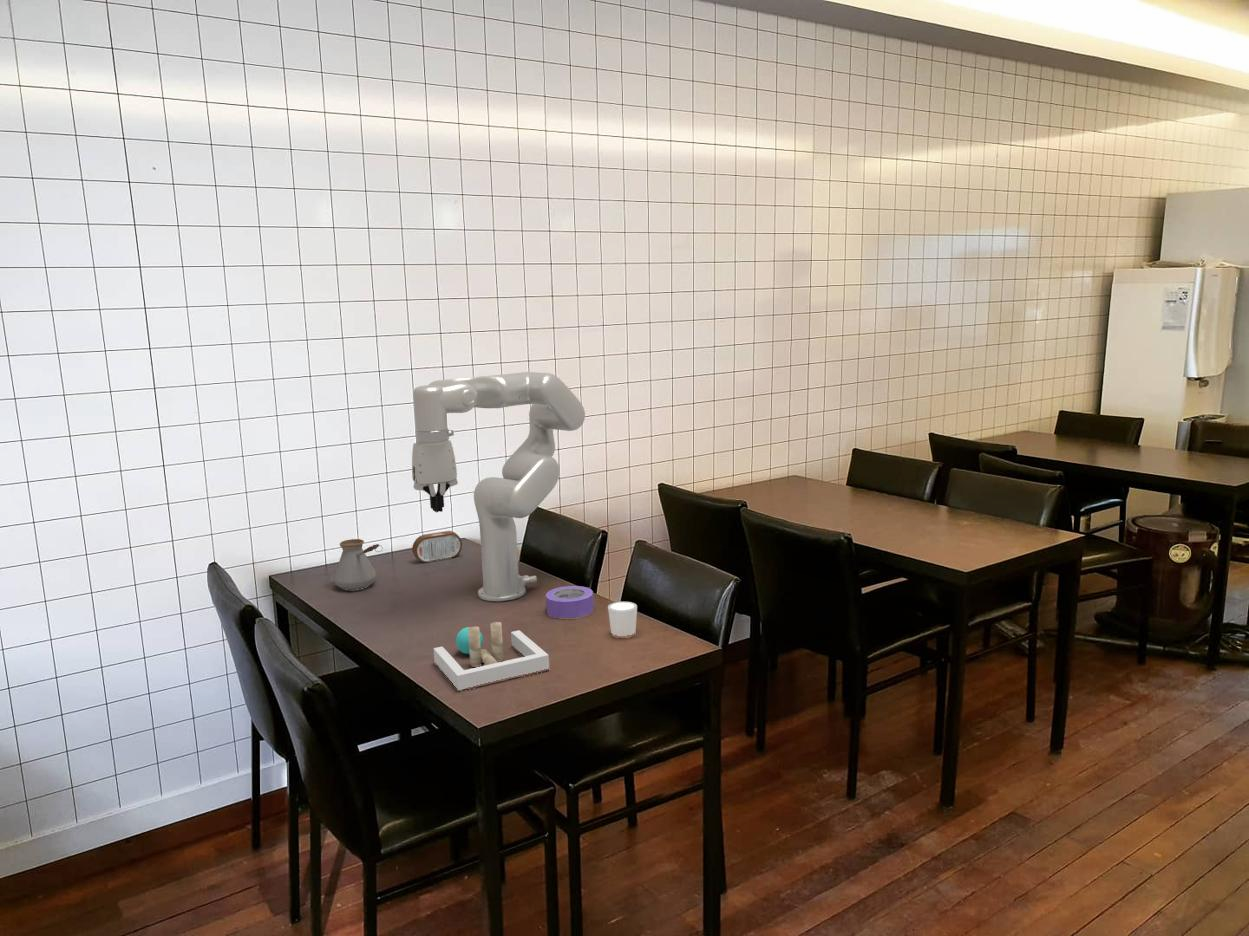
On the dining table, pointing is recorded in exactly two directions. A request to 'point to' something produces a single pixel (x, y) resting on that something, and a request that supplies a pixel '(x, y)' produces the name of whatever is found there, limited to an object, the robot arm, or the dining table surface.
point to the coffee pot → (354, 566)
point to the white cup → (622, 618)
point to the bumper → (497, 671)
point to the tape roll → (569, 602)
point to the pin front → (487, 657)
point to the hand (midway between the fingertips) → (437, 510)
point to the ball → (465, 640)
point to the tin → (437, 546)
